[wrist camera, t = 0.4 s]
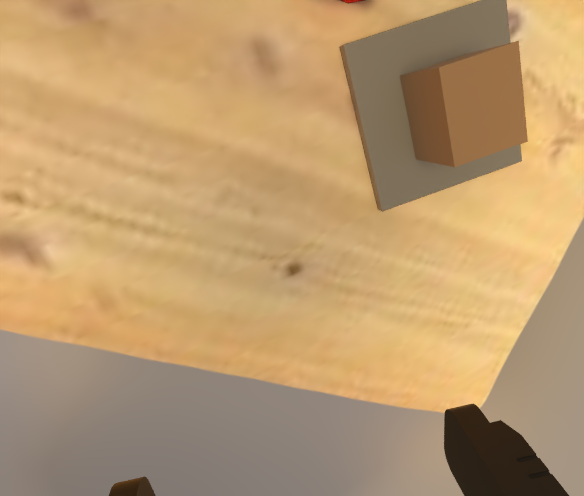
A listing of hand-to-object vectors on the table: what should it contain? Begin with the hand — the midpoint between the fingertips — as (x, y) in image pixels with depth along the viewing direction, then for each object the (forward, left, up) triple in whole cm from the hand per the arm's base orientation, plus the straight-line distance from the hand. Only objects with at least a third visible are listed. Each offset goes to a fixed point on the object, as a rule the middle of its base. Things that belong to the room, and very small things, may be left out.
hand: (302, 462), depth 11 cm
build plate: (-4, +19, -26) cm, 33 cm away
